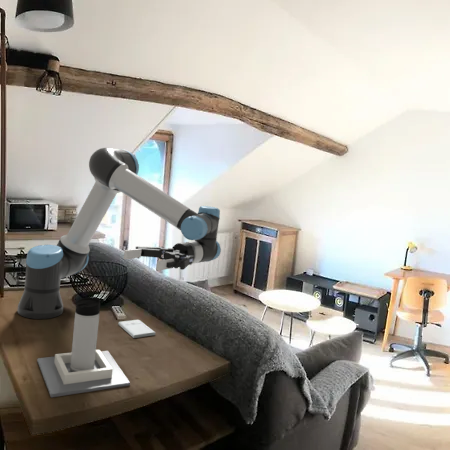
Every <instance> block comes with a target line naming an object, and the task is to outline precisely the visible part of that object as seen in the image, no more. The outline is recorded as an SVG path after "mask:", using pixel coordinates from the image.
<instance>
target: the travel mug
mask: <svg viewBox="0 0 450 450" xmlns="http://www.w3.org/2000/svg"><path fill="white" fill-rule="evenodd" d="M100 310H101V300H100V298H99V297H96V296H93V297H83V298H79V299H78V300H76V304H75V311H74V313H75V314H74V320H73V322H74V323H73V335H72V342H71V343H72V346H71V353H72V354H71V365H70V371H71V372H77V371H84V370H92V369H94V364H95V354H96V350H97V342H98V333H99V322H100V313H101V312H100Z"/></svg>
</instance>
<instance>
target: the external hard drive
mask: <svg viewBox="0 0 450 450" xmlns="http://www.w3.org/2000/svg"><path fill="white" fill-rule="evenodd" d="M117 325H118V326H119V327H121V328H122V329H123V330H124V331H125V332H126V333H127V334H128V335H130V336H131V337H132V338H133V339H136V338H143V337H149V336H156V331H154V330H153V329H152V328H150V327H149V326H147V324H145V323H144V322H143V321H142V320H140V319H133V320H132V319H131V320H124V321H122V320H121V321H118V324H117Z"/></svg>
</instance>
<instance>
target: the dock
mask: <svg viewBox="0 0 450 450" xmlns="http://www.w3.org/2000/svg"><path fill="white" fill-rule="evenodd" d="M71 354H72V352H64V353H55V354H54V356H48V357H46V356H45V357H38V358H36V361H37V364H38V367H39V370H40V372H41V375H42V378H43V380H44V383H45V386H46V388H47V390H48V394H49V396H50V398H56V397H62V396H69V395H75V394H83V393H88V392H89V393H90V392H95V391H101V390H103V391H104V390H109V389H115V388H116V389H117V388H121V387H128V386H130V385H131V382H130V380H129V378H128V377H127V376H126V375H125V372H123V370H122V369H121V368H120V365H118V363H117V362H116V360H115V359H114V357H113V355H111V353H110V352H109V350H102V351H101V349H96V354H95V364H94V369H92V370H84V371H77V372H71V371H70V365H71Z"/></svg>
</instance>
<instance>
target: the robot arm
mask: <svg viewBox="0 0 450 450" xmlns="http://www.w3.org/2000/svg"><path fill="white" fill-rule="evenodd" d="M88 167H89V168H88V169H89V172H90V174H91V176H93V178H94V180H95V182H94V184H93V186H92V188H91V190H90V191H89V193H88V195H87V198H86V199H85V201H84V203H83V205H82V207H81V208H80V210H79V212H78V214H77V215H76V217H75V219H74V221H73V223H72V225H71V227H70V228H69V231H68V232H67V234H64V235H62V236H61V237H60V238H59V240H58V242H57V243H56V245H55V244H44V245H42V244H41V245H36V246H33V247H31V248H30V249H28V251H27V255H26V258H25V277H24V288H23V289H24V290H23V292H22V295H21V298H20V300H19V303H18V305H17V315H20V316H21V317H23V318H27V319H33V320H47V319H53V318H57V317H59V316H61V315H62V314H63V312H64V303H63V299H62V296H61V292H60V289H61V279H63V278H67V277H69V276H72V275H75V274H78V273H80V272H81V271H83V270H84V269H85V268H86V267H87V265H88V263H89V259H90V257H89V253H90V252H91V251H90V250H91V249H90V246H89V245H90V243H91V241H92V239H93V237H94V235H95V234H96V232H97V230H98V229H99V226H100V225H101V223H102V221H103V220H104V218H105V216H106V214H107V212H108V210H109V208H110V207H111V205H112V203H113V201H114V199H115V198H116V196H117V194H119V193H122V194H123V195H125V196H126V197H129V199H131V200H132V201H135V202H136V203H137V204H139V205H141V206H142V207H144V208H145V209H148V210H149V211H150V212H152V214H154V215H156V216H158V217H159V218H160V219H162V220H164V221H166V222H167V223H168V224H170V225H171V226H173V227H175V228H176V229H177V230H179V231H180V233H181V234H182V236H183V237H184V238H185V239H187V240H189V241H186V242H185V241H184V242H178V243H175V244H174V245H173V246H172V248H171V247H168V248H165V247H164V246H135V248H133V249H132V248H131V249H124V251H123V260H132V259H133V260H134V259H140V258H143V257H144V258H145V257H146V258H158V259H159V260H157V261H156V269H155V270H156V271H157V272H159V271H164V270H171V269H173V268H174V269H178V268H179V270H182V271H183V270H185V269H186V268H187V267H188V266H192V265H194V264H198V263H200V264H201V263H205V262H206V263H208V262H211V261H214V260H216V259H217V258H219V256H220V254H221V251H222V249H221V244H220V243H219V242H218V241H217V238H218V230H219V223H220V220H221V218H220V216H221V213H220V212H221V210H220V209H219V208H218V207H215V206H209V205H201V206H199V207H198V212H195V211H194V210H192V209H190V208H189V207H188V206H186V205H185V204H183V203H182V202H180V201H179V200H177V199H176V198H174V197H173V196H171V195H169V194H168V193H166V192H164V191H163V190H162V189H160V188H158V187H157V186H155V185H154V184H151V182H149V181H147V180H145V179H144V178H142V177H141V176H140V175H138V174H139V170H140V164H139V160H138V159H137V157H136V156H135V154H133V153H132V152H130V151H129V150H126V149H123V148H109V147H102V148H99V149H96V150H95V151H94V152H93V153H92V154H91V155H90V158H89V161H88Z"/></svg>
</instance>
